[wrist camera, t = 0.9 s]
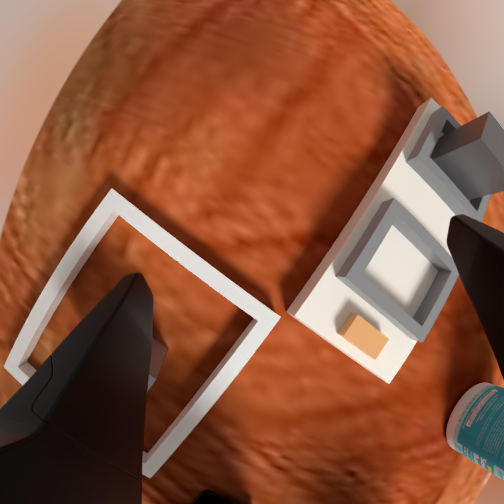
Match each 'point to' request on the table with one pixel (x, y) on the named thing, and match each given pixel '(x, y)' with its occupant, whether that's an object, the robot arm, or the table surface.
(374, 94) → the table surface
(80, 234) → the white square frame
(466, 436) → the pill bottle
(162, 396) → the table surface
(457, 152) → the plug
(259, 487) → the table surface
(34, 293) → the table surface
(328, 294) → the power strip
